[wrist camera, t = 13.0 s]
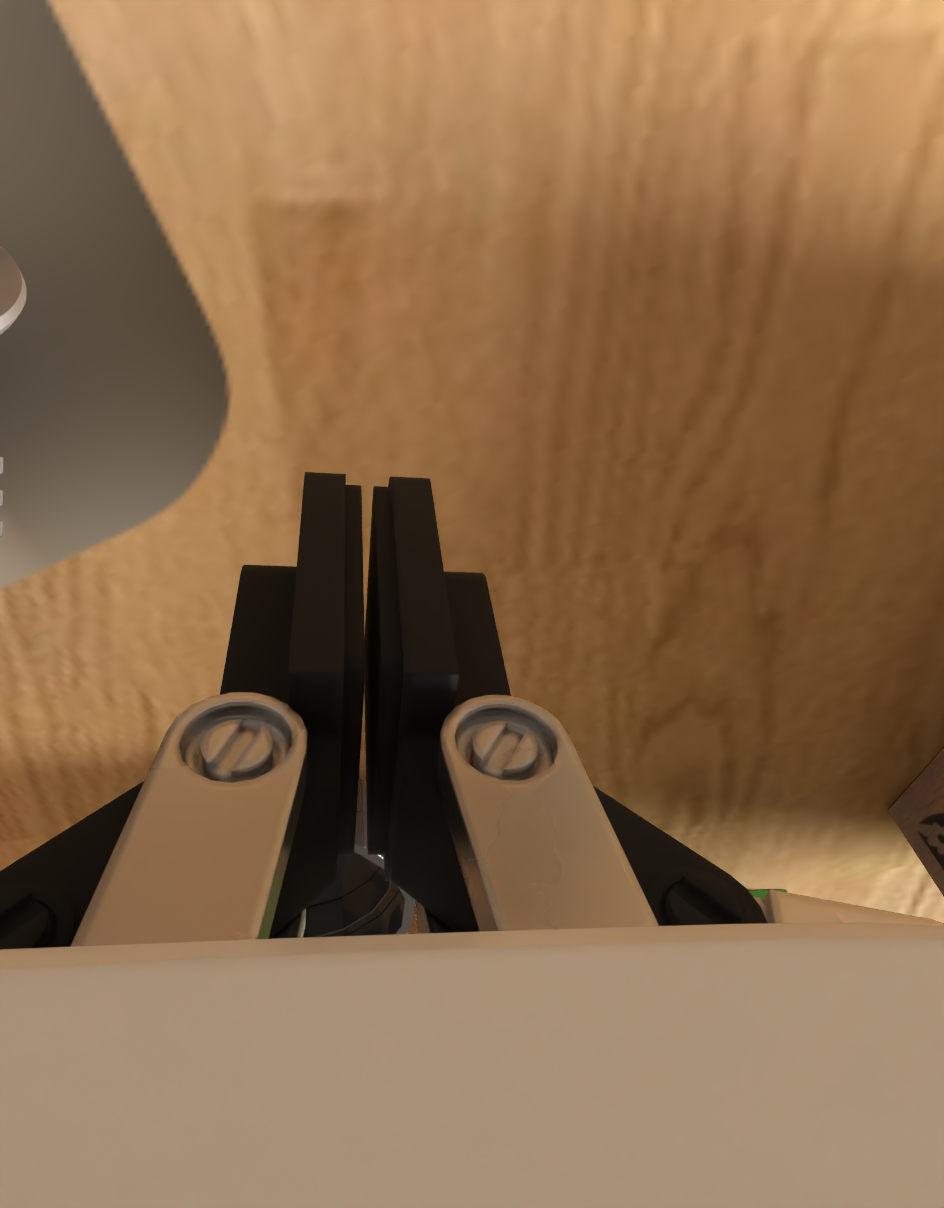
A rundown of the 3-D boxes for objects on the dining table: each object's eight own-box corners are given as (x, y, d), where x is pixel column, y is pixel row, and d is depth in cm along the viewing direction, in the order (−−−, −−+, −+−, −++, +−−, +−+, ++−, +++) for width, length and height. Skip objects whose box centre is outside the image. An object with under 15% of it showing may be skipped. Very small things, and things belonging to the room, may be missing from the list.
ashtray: (150, 760, 35) (133, 840, 32) (416, 755, 37) (425, 830, 34) (174, 916, 42) (161, 995, 39) (399, 905, 44) (405, 980, 41)
